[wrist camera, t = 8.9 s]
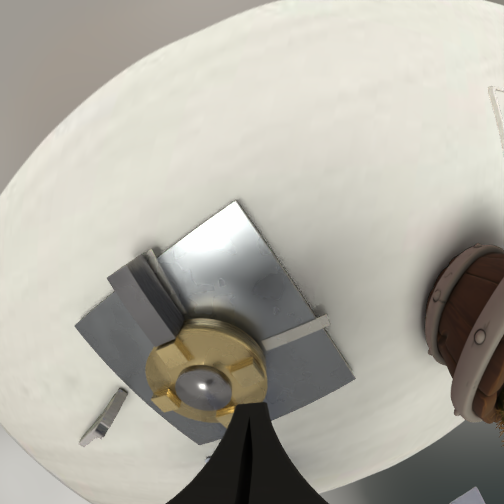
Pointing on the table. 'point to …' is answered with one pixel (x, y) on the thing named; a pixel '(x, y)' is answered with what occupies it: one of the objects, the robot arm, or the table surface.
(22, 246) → the table surface
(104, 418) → the caliper
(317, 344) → the dark grey square plate
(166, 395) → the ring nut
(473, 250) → the flowerpot
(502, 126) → the phone case
